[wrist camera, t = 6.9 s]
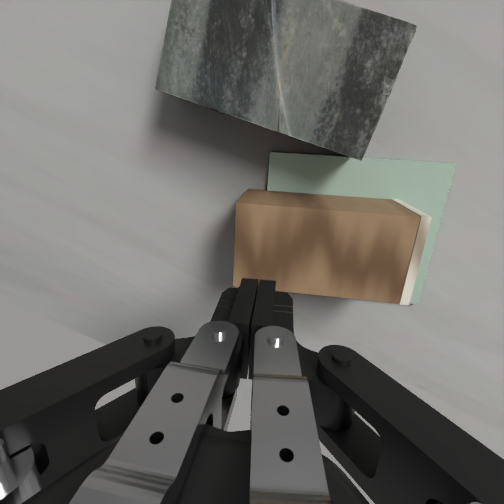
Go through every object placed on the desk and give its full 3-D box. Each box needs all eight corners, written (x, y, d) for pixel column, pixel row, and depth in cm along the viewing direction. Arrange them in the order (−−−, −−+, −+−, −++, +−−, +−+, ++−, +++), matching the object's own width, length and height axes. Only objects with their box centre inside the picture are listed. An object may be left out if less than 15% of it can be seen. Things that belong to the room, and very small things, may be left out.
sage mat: (270, 151, 25) (269, 152, 24) (453, 163, 23) (456, 163, 23) (260, 286, 29) (260, 288, 28) (416, 302, 28) (417, 304, 27)
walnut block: (235, 202, 20) (431, 217, 19) (248, 188, 26) (398, 199, 24) (232, 287, 22) (408, 305, 21) (244, 257, 28) (383, 269, 27)
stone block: (206, -40, 21) (182, -94, 16) (403, 31, 21) (438, -2, 16) (177, 98, 24) (149, 87, 19) (349, 159, 24) (364, 163, 20)
